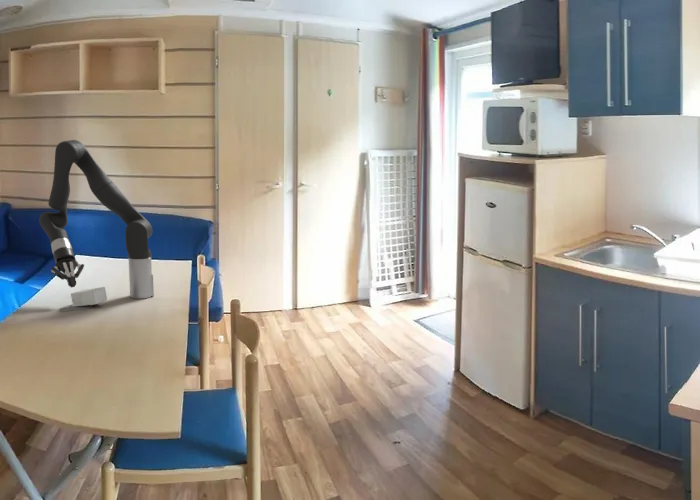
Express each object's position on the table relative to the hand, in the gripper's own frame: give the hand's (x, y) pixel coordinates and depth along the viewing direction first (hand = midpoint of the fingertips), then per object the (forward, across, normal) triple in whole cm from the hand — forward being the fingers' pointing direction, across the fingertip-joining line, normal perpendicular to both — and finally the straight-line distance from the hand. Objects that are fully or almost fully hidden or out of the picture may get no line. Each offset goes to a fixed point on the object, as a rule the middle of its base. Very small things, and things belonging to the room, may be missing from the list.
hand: (73, 286), depth 230 cm
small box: (+4, +1, +4) cm, 5 cm away
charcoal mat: (+10, -1, +2) cm, 10 cm away
